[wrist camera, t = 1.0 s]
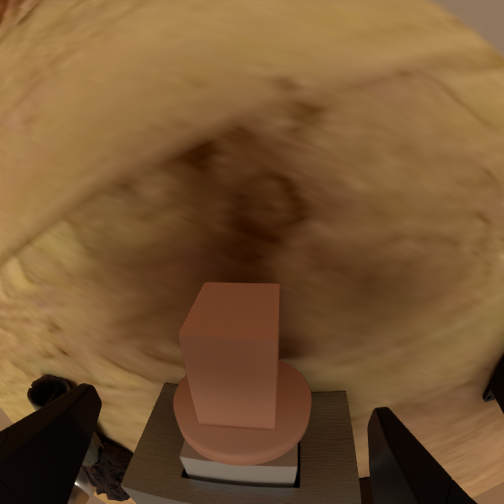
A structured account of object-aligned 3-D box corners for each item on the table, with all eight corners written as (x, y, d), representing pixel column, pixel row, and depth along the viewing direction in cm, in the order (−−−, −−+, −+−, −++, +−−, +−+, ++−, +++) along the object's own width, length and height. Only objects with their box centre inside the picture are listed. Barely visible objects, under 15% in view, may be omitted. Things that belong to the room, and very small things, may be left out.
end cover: (315, 270, 14) (332, 367, 8) (296, 448, 19) (294, 521, 13) (179, 268, 14) (119, 353, 8) (212, 444, 20) (196, 512, 14)
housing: (345, 391, 17) (361, 508, 10) (325, 462, 21) (327, 545, 13) (164, 382, 19) (120, 485, 11) (189, 454, 22) (167, 532, 15)
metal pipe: (41, 368, 21) (10, 407, 16) (95, 381, 20) (64, 430, 15) (110, 468, 28) (95, 501, 22) (157, 480, 27) (145, 517, 22)
